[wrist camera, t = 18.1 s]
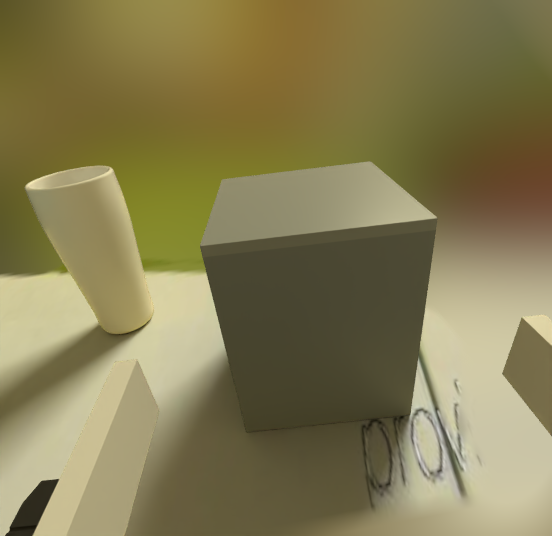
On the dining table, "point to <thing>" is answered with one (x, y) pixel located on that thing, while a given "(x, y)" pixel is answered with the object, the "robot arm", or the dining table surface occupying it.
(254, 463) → the dining table surface
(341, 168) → the tall grey box
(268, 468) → the dining table surface
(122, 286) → the drinking glass
